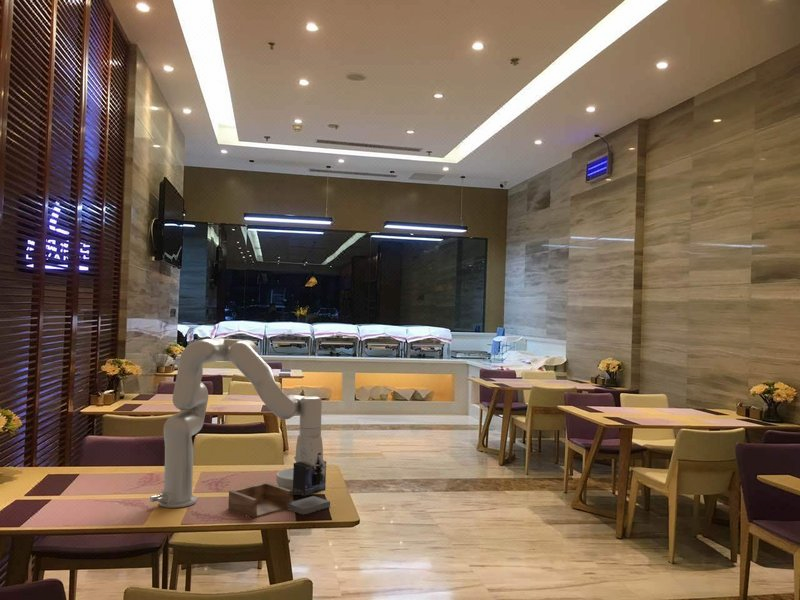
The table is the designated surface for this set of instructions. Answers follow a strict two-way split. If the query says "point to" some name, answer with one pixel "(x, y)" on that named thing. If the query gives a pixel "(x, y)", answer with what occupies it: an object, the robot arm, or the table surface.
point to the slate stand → (308, 505)
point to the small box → (306, 480)
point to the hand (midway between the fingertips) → (309, 482)
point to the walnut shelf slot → (259, 499)
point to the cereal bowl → (285, 479)
